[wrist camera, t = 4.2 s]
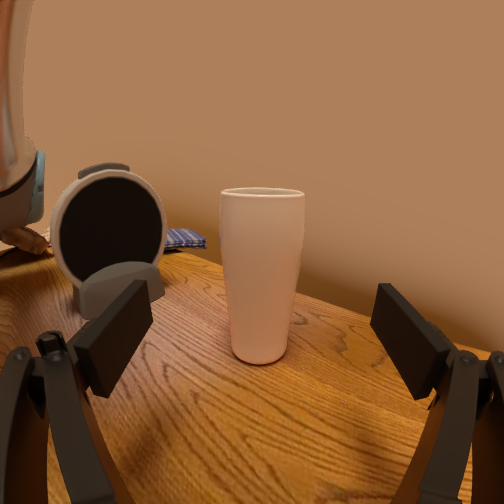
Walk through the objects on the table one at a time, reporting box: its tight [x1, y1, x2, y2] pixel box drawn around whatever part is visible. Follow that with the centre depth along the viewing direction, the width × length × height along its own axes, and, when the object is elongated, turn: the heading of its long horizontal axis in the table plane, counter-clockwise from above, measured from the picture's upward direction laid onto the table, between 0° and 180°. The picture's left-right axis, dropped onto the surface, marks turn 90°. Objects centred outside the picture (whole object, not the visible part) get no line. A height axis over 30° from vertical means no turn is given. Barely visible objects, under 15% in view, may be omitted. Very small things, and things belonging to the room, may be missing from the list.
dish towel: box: [164, 229, 207, 250], centre depth 59 cm, size 17×24×3 cm
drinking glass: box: [219, 188, 305, 364], centre depth 23 cm, size 7×7×15 cm
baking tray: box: [0, 226, 52, 255], centre depth 48 cm, size 30×22×5 cm
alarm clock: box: [50, 163, 167, 319], centre depth 32 cm, size 16×10×18 cm, turn 135°
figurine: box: [41, 227, 50, 242], centre depth 62 cm, size 5×12×7 cm
